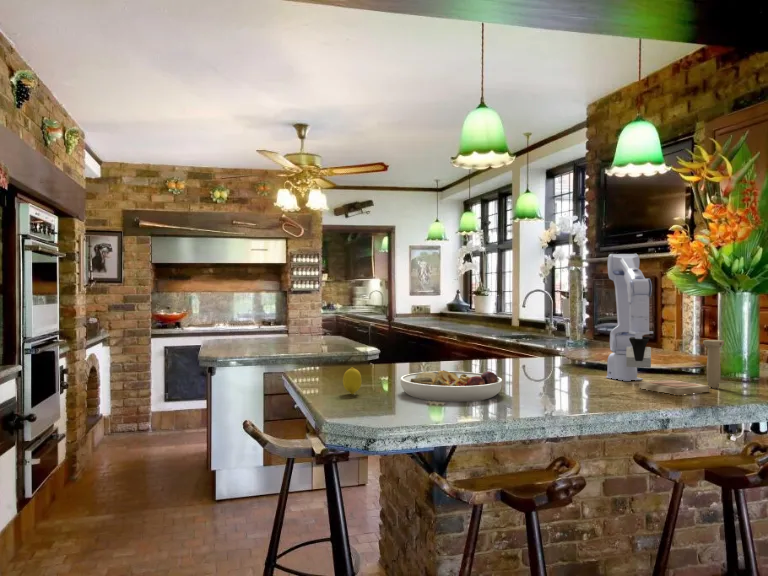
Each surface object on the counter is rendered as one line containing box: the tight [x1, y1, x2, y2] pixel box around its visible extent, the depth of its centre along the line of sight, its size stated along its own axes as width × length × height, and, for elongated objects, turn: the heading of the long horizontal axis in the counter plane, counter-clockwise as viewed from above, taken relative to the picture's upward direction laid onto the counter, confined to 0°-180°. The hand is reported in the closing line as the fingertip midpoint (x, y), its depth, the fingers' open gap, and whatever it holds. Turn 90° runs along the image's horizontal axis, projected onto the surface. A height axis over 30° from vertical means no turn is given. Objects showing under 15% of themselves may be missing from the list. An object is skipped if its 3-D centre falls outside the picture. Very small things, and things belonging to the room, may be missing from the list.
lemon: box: [342, 367, 363, 395], centre depth 181 cm, size 6×6×8 cm
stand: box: [638, 379, 710, 396], centre depth 188 cm, size 14×14×2 cm
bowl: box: [400, 369, 503, 403], centre depth 182 cm, size 30×30×8 cm
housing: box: [626, 346, 652, 369], centre depth 192 cm, size 4×7×6 cm, turn 65°
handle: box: [702, 339, 725, 389], centre depth 193 cm, size 5×6×15 cm
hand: (639, 360), depth 192 cm, fingers closed on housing, 4 cm apart
